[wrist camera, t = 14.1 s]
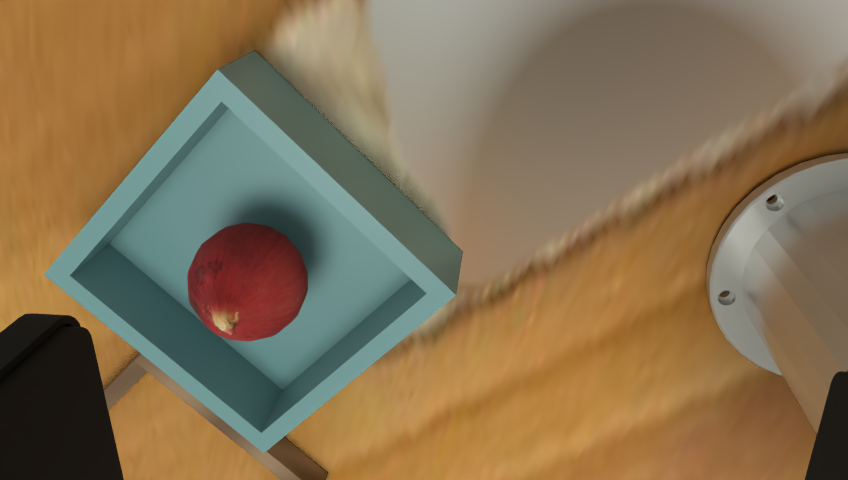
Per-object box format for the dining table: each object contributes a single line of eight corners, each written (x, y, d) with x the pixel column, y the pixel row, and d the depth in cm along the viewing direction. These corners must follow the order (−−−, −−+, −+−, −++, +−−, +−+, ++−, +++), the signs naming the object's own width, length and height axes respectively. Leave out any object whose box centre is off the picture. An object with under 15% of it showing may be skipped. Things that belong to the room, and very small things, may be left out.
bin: (462, 251, 39) (456, 295, 35) (289, 399, 45) (263, 453, 40) (254, 50, 36) (217, 69, 32) (94, 235, 42) (43, 274, 37)
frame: (328, 473, 47) (320, 495, 45) (201, 570, 52) (189, 593, 50) (158, 333, 44) (143, 351, 42) (42, 450, 49) (24, 471, 47)
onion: (222, 291, 41) (159, 371, 34) (216, 196, 39) (147, 260, 31) (323, 302, 41) (281, 386, 33) (323, 207, 38) (278, 275, 31)
